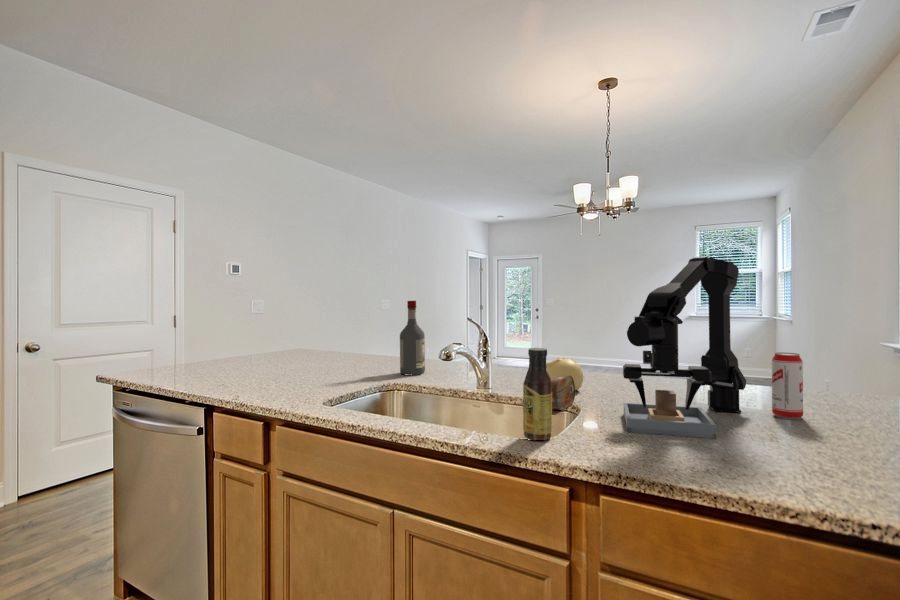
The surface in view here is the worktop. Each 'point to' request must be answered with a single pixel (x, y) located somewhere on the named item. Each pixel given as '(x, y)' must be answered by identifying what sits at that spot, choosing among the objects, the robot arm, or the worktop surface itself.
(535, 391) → the sauce bottle
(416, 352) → the liquor
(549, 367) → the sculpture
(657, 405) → the brown rectangular block
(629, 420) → the box
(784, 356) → the beer can
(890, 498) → the worktop surface
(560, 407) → the tin
